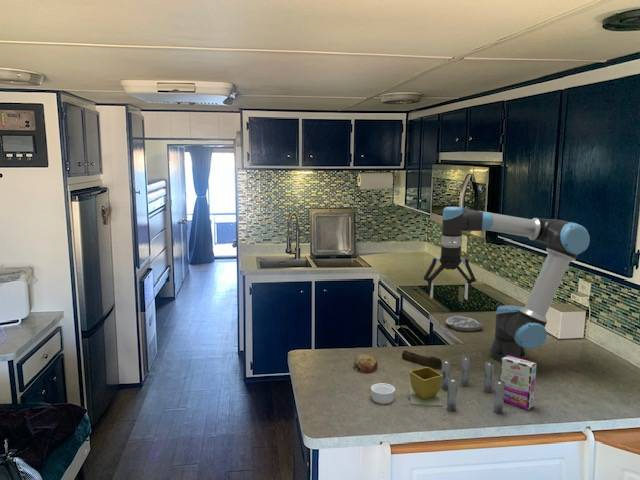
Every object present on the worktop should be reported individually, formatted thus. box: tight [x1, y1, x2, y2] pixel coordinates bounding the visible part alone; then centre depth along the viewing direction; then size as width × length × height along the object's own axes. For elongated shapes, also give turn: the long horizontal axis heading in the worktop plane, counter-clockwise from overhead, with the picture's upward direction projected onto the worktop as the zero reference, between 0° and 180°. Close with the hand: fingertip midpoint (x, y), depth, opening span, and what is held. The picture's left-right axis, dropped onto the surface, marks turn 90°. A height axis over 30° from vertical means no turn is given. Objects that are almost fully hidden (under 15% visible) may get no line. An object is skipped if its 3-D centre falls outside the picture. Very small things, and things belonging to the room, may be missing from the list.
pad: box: [408, 386, 443, 407], centre depth 189 cm, size 11×13×1 cm
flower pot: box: [409, 366, 443, 399], centre depth 188 cm, size 9×9×9 cm
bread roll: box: [353, 353, 379, 374], centre depth 214 cm, size 10×10×8 cm
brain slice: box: [445, 315, 484, 333], centre depth 265 cm, size 20×17×3 cm
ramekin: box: [370, 382, 396, 405], centre depth 187 cm, size 9×9×4 cm
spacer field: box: [440, 356, 505, 415], centre depth 188 cm, size 19×23×11 cm
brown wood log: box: [401, 349, 442, 371], centre depth 218 cm, size 19×4×5 cm, turn 47°
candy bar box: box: [499, 355, 538, 411], centre depth 183 cm, size 11×5×16 cm, turn 45°
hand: (448, 298), depth 205 cm, fingers open, 13 cm apart
